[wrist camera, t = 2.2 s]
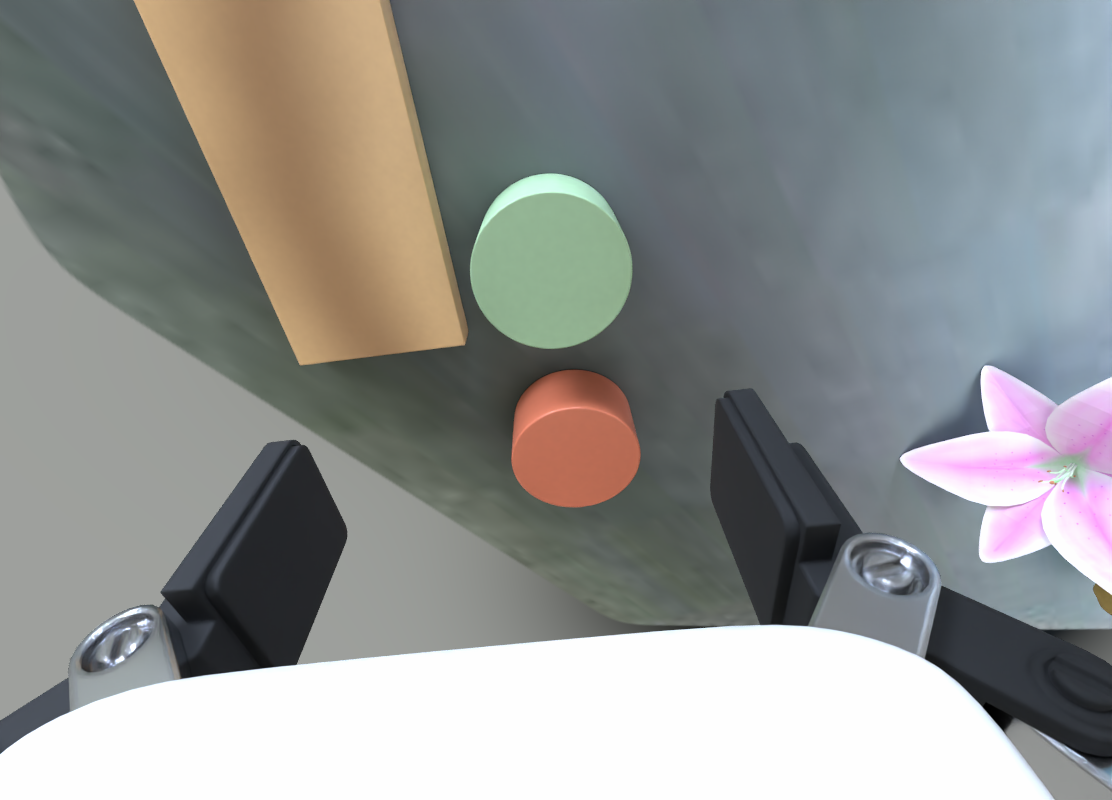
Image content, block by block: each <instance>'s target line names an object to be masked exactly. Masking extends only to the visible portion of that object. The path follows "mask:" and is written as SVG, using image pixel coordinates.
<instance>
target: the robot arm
mask: <svg viewBox="0 0 1112 800" xmlns="http://www.w3.org/2000/svg"><path fill="white" fill-rule="evenodd" d="M710 492H711V498H712V502H713V505H714V508H715V510H716V513H717V515H718V518H719V520H720V523H721V526H722V528H723V531H724V533H725V536H726V538H727V541H728V543H729V546H730V548H731V551H732V554H733V556H734V559H735V561H736V564H737V566H738V569H739V571H740V574H741V576H742V579H743V582H744V584H745V587H746V589H747V592H748V594H749V597H750V599H751V602H752V605H753V607H754V610H755V612H756V615H757V617H758V620H759V622H760V625H748V626H726V627H712V628H699V629H685V630H672V631H671V630H670V631H657V632H645V633H633V634H622V635H611V636H600V637H588V638H576V639H566V640H554V641H544V642H531V643H521V644H510V645H499V646H489V647H477V648H468V649H456V650H447V651H435V652H424V653H414V654H403V655H393V656H383V657H373V658H362V659H352V660H342V661H332V662H323V663H312V664H302V665H297V662H298V660H299V657H300V655H301V652H302V650H303V647H304V645H305V642H306V640H307V637H308V635H309V632H310V630H311V627H312V625H313V623H314V620H315V618H316V615H317V612H318V610H319V608H320V605H321V603H322V600H323V598H324V595H325V593H326V590H327V588H328V585H329V583H330V580H331V578H332V575H333V573H334V570H335V568H336V566H337V563H338V561H339V558H340V556H341V553H342V551H343V548H344V546H345V543H346V540H347V528H346V525H345V523H344V521H343V519H342V516H341V515H340V512H339V510H338V508H337V506H336V504H335V502H334V500H333V498H332V496H331V494H330V492H329V490H328V488H327V486H326V484H325V482H324V479H323V478H322V476H321V473H320V472H319V469H318V467H317V465H316V463H315V461H314V459H313V457H312V455H311V453H310V451H309V449H308V448H307V447H306V446H305V445H301V444H300V443H299V442H298V441H296V440H287V441H279V442H271V443H268V444H267V445H266V446H265V447H264V448H263V450H262V451H261V452H260V454H259V455H258V456H257V458H256V459H255V461H254V462H253V463H252V465H251V466H250V468H249V469H248V470H247V472H246V473H245V475H244V476H243V477H242V479H241V480H240V482H239V483H238V484H237V486H236V487H235V489H234V490H233V491H232V493H231V494H230V496H229V497H228V499H227V500H226V501H225V503H224V504H223V505H222V507H221V508H220V509H219V511H218V513H217V514H216V515H215V516H214V518H213V519H212V521H211V522H210V523H209V525H208V526H207V528H206V529H205V530H204V532H203V533H202V535H201V536H200V537H199V539H198V540H197V542H196V543H195V545H194V546H193V547H192V549H191V550H190V551H189V553H188V554H187V556H186V557H185V558H184V560H183V561H182V563H181V564H180V565H179V567H178V568H177V570H176V571H175V572H174V574H173V575H172V577H171V578H170V579H169V581H168V582H167V584H166V585H165V586H164V588H163V589H162V591H161V594H162V595H163V596H164V597H165V600H164V601H163V603H162V604H161V606H160V607H157V606H154V605H140V606H136V607H133V608H129V609H127V610H124V611H122V612H120V613H118V614H116V615H114V616H112V617H111V618H109V619H108V620H106V621H105V622H103V623H101V624H100V625H99V626H98V627H97V628H95V629H94V630H93V631H92V632H91V633H90V634H88V635H87V636H86V637H85V639H84V640H83V641H82V642H81V643H80V644H79V645H78V647H77V648H76V650H75V652H74V654H73V656H72V657H71V659H70V663H69V668H68V674H69V675H68V676H69V677H68V678H67V679H65V680H64V681H62V682H61V683H59V684H57V685H56V686H54V687H53V688H51V689H50V690H48V691H46V692H45V693H43V694H42V695H40V696H38V697H37V698H36V699H34V700H32V701H31V702H29V703H27V704H26V705H24V706H23V707H21V708H20V709H18V710H16V711H15V712H13V713H12V714H10V715H9V716H7V717H5V718H4V719H2V720H0V800H1112V666H1111V665H1110V664H1109V663H1107V662H1106V661H1104V660H1103V659H1101V658H1099V657H1097V656H1095V655H1093V654H1091V653H1090V652H1088V651H1086V650H1084V649H1082V648H1079V647H1077V646H1075V645H1073V644H1070V643H1068V642H1066V641H1064V640H1062V639H1059V638H1057V637H1055V636H1053V635H1050V634H1048V633H1045V632H1044V631H1041V630H1039V629H1037V628H1035V627H1033V626H1030V625H1028V624H1026V623H1024V622H1021V621H1019V620H1017V619H1015V618H1012V617H1010V616H1008V615H1006V614H1004V613H1001V612H999V611H997V610H995V609H992V608H990V607H988V606H986V605H983V604H981V603H979V602H977V601H975V600H972V599H970V598H968V597H966V596H963V595H961V594H959V593H957V592H954V591H952V590H950V589H948V588H946V587H943V586H941V575H940V573H939V571H938V569H937V567H936V564H935V563H934V562H933V561H932V560H931V559H930V558H929V557H928V555H927V554H926V553H924V552H923V551H922V550H920V549H919V548H917V547H916V546H915V545H913V544H911V543H909V542H907V541H905V540H903V539H900V538H898V537H895V536H891V535H887V534H883V533H862V531H861V530H860V528H859V527H858V525H857V524H856V522H855V521H854V519H853V518H852V517H851V515H850V514H849V512H848V511H847V509H846V508H845V506H844V505H843V503H842V502H841V501H840V499H839V498H838V496H837V495H836V493H835V492H834V490H833V489H832V487H831V486H830V484H829V483H828V482H827V480H826V479H825V477H824V476H823V474H822V473H821V471H820V470H819V468H818V467H817V466H816V464H815V463H814V461H813V460H812V458H811V457H810V455H809V454H808V452H807V451H806V450H805V448H804V447H803V446H802V445H801V444H799V443H788V441H787V440H786V438H785V437H784V435H783V434H782V432H781V430H780V429H779V427H778V426H777V424H776V423H775V421H774V420H773V418H772V417H771V415H770V414H769V412H768V411H767V409H766V408H765V406H764V404H763V403H762V401H761V400H760V398H759V397H758V395H757V394H756V392H755V391H754V390H753V389H751V388H750V389H741V390H732V391H726V392H725V394H724V398H719V399H717V400H716V404H715V420H714V436H713V452H712V468H711V484H710Z"/></svg>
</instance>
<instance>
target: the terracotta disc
mask: <svg viewBox="0 0 1112 800" xmlns="http://www.w3.org/2000/svg"><path fill="white" fill-rule="evenodd" d="M640 454H641V452H640V445H639V442H638V438H637V434H636V430H635V426H634V422H633V418H632V415H631V411H630V407H629V404H628V401H627V399H626V397H625V395H624V393H623V392H622V391H621V389H620V388H619V387H618V386H617V385H616V384H615V383H613V382H612V381H611V380H609V379H607V378H606V377H604V376H602V375H599V374H597V373H594V372H590V371H585V370H564V371H558V372H555V373H551V374H549V375H546V376H544V377H542V378H541V379H539V380H537V381H536V382H534V383H533V384H532V385H531V386H530V387H529V388H528V389H527V390H526V391H525V392H524V393H523V395H522V396H521V398H520V399H519V401H518V403H517V406H516V410H515V415H514V429H513V443H512V459H511V461H512V468H513V471H514V474H515V476H516V478H517V480H518V481H519V483H520V484H521V486H522V487H523V488H524V489H525V490H526V491H527V492H529V493H530V494H531V495H533V496H534V497H536V498H537V499H539V500H542V501H544V502H546V503H549V504H553V505H557V506H563V507H584V506H590V505H594V504H598V503H601V502H603V501H606V500H608V499H610V498H612V497H614V496H615V495H617V494H618V493H620V492H621V491H622V490H623V489H624V488H625V487H626V486H627V485H628V484H629V483H630V482H631V481H632V479H633V478H634V476H635V474H636V472H637V470H638V467H639V463H640Z"/></svg>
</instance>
